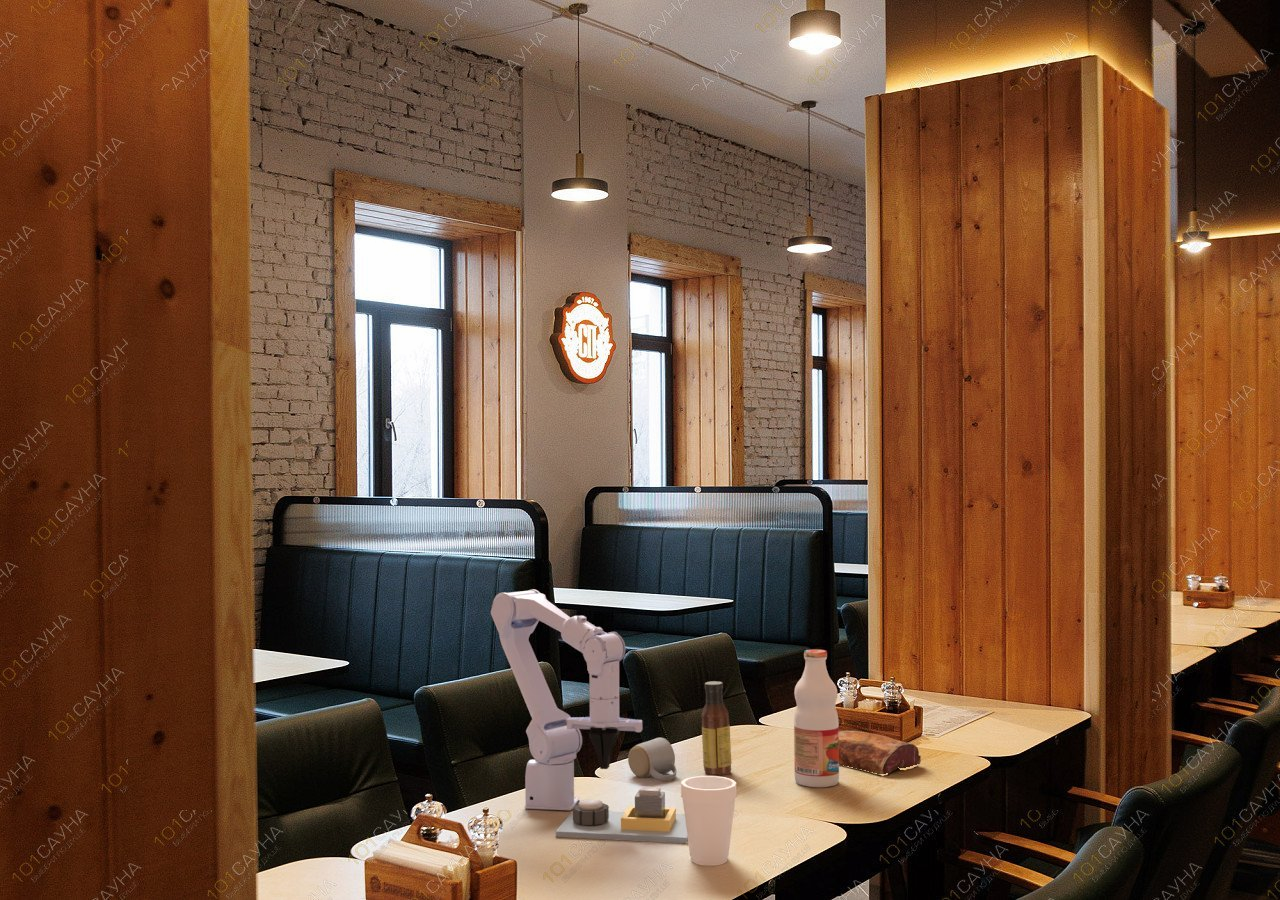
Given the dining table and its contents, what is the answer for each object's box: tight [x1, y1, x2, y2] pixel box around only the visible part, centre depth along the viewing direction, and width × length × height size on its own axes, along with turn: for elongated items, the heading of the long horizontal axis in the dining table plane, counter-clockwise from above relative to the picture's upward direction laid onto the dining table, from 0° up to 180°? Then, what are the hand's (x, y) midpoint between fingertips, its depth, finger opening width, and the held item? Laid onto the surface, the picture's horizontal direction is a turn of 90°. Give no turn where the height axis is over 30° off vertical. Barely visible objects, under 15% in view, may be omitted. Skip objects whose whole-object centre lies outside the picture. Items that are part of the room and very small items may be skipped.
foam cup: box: [680, 775, 738, 867], centre depth 197 cm, size 10×9×13 cm
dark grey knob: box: [572, 798, 610, 825], centre depth 216 cm, size 6×6×3 cm
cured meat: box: [838, 730, 922, 774], centre depth 266 cm, size 18×25×7 cm
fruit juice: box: [793, 649, 840, 788], centre depth 246 cm, size 9×9×28 cm
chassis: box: [555, 805, 688, 844], centre depth 214 cm, size 24×14×3 cm, turn 80°
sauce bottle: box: [700, 680, 733, 776], centre depth 255 cm, size 7×6×20 cm
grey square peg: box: [634, 786, 666, 819], centre depth 214 cm, size 5×4×6 cm
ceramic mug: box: [627, 737, 678, 782], centre depth 252 cm, size 11×8×8 cm
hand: (604, 767), depth 221 cm, fingers closed
